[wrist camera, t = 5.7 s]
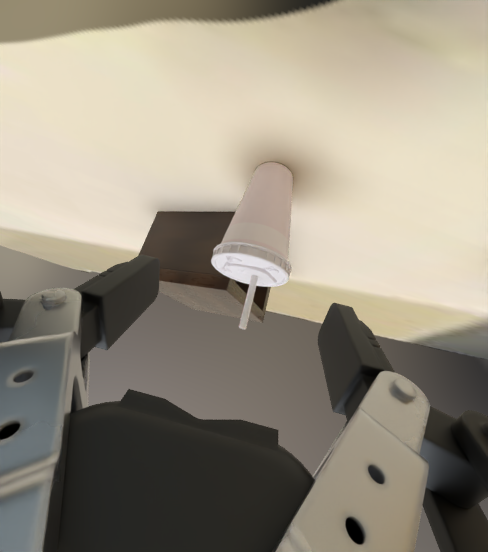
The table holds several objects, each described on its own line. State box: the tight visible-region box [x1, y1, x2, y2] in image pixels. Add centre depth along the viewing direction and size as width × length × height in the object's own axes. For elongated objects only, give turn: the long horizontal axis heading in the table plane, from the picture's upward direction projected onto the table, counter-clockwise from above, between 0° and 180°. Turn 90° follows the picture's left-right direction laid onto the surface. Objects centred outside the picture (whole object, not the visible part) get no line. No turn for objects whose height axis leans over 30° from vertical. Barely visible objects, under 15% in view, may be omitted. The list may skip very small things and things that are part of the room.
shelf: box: [139, 212, 271, 323], centre depth 35 cm, size 14×16×10 cm
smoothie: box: [211, 162, 293, 329], centre depth 19 cm, size 6×6×14 cm
